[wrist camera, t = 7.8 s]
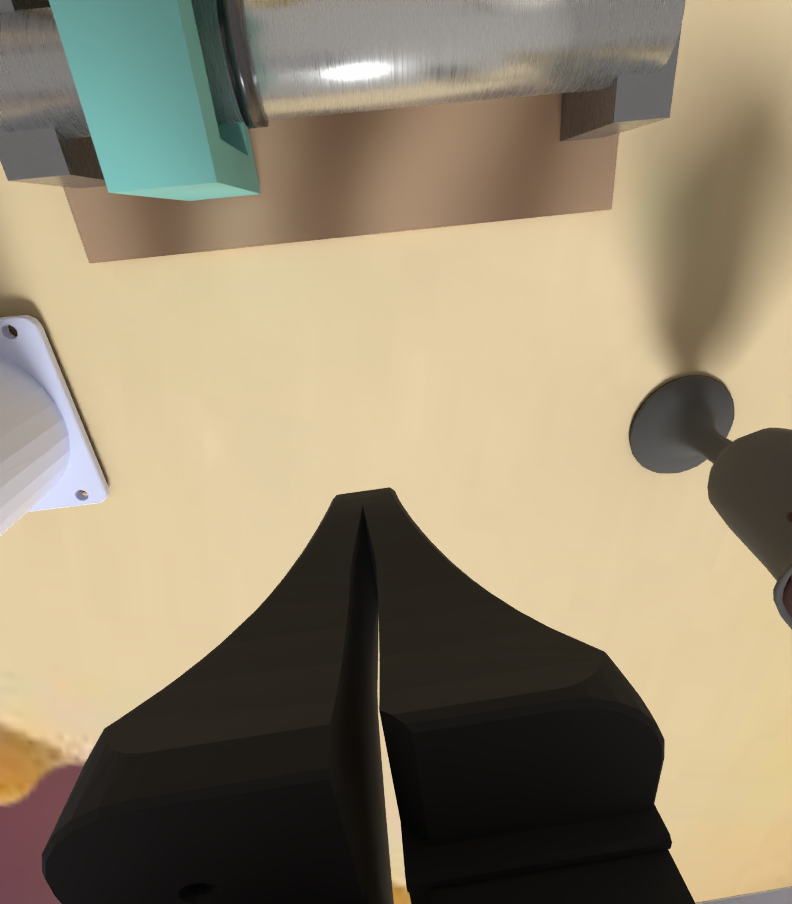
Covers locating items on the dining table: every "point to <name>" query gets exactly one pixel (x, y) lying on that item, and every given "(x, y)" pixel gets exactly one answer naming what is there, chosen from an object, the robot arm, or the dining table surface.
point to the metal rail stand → (358, 66)
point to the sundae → (725, 468)
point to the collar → (152, 101)
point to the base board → (370, 180)
